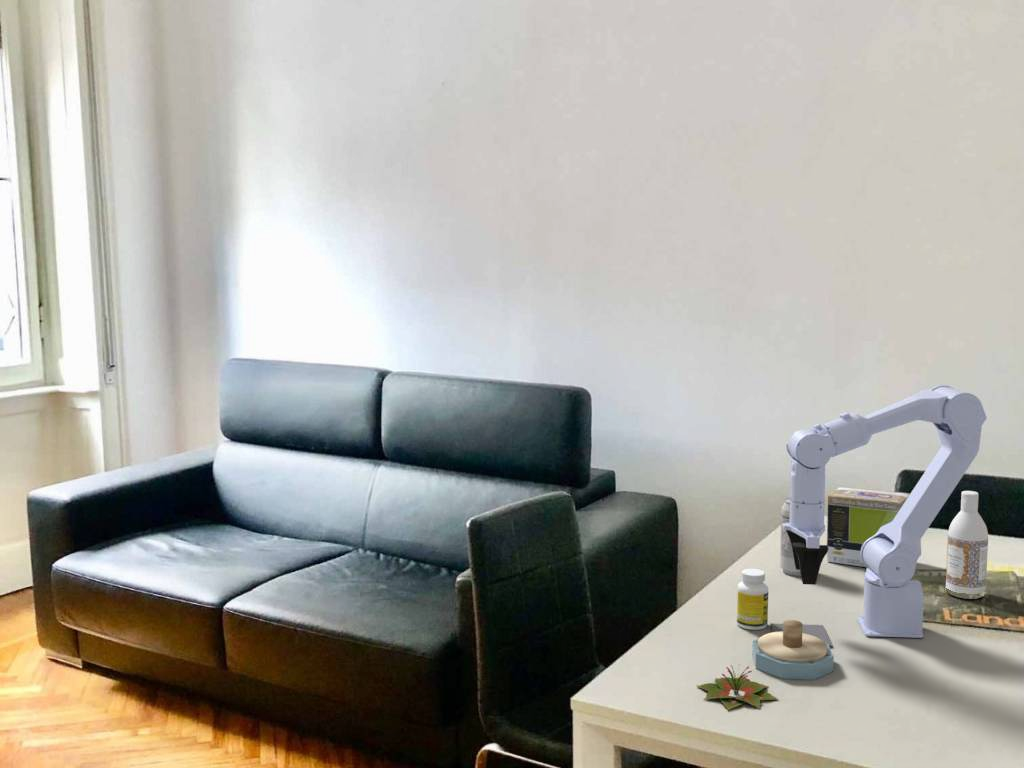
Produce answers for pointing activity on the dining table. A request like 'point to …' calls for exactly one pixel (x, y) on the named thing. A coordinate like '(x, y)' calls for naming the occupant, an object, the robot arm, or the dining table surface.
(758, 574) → the supplement bottle
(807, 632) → the mat
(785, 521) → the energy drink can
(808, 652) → the lid
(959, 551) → the bath foam
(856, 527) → the tea box
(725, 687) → the lily flower
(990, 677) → the dining table surface
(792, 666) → the bowl
